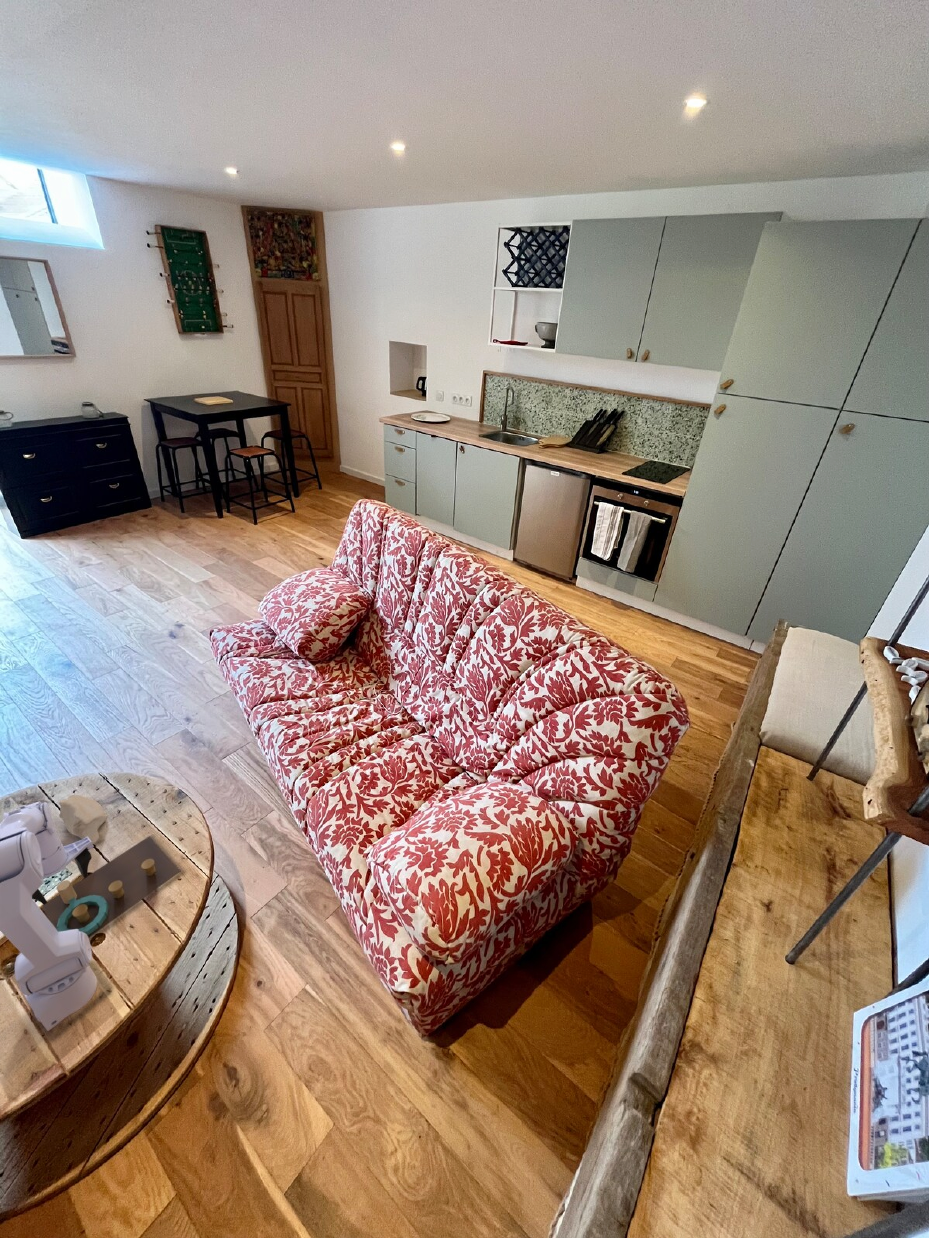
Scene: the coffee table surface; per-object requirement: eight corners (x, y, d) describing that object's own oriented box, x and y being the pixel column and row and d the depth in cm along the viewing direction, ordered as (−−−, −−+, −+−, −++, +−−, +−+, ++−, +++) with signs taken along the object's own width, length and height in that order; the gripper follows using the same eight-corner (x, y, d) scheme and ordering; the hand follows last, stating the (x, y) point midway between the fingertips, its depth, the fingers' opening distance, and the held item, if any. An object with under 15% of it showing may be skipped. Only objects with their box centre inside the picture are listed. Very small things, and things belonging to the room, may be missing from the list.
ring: (69, 948, 104) (61, 935, 102) (45, 910, 110) (37, 897, 108) (115, 915, 110) (109, 902, 108) (90, 880, 117) (83, 867, 114)
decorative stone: (81, 852, 123) (71, 831, 119) (60, 819, 131) (49, 797, 126) (118, 831, 129) (110, 809, 125) (96, 800, 136) (87, 779, 132)
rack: (71, 953, 104) (65, 942, 102) (42, 908, 111) (36, 897, 109) (181, 873, 121) (178, 862, 119) (150, 838, 128) (146, 827, 126)
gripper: (75, 815, 111) (93, 854, 118) (-8, 862, 101) (17, 901, 107) (89, 833, 108) (107, 871, 115) (5, 883, 97) (30, 922, 104)
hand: (64, 887), depth 111 cm, fingers open, 7 cm apart
